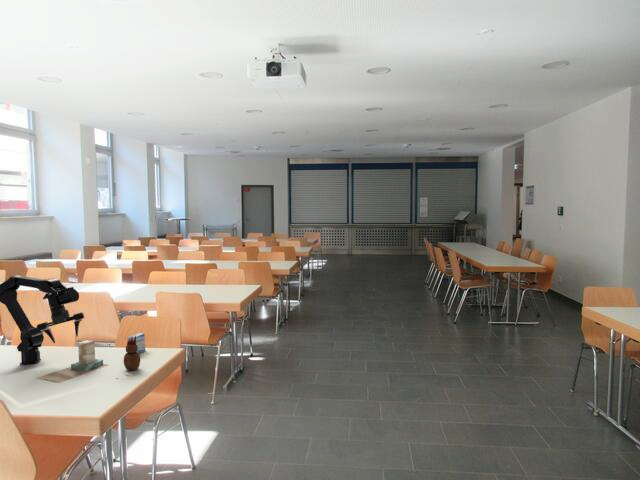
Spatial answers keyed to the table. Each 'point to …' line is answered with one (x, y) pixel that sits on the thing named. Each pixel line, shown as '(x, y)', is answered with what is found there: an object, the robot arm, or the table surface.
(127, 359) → the wooden figurine
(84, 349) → the birch block
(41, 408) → the table surface
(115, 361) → the table surface
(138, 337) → the medicine box
